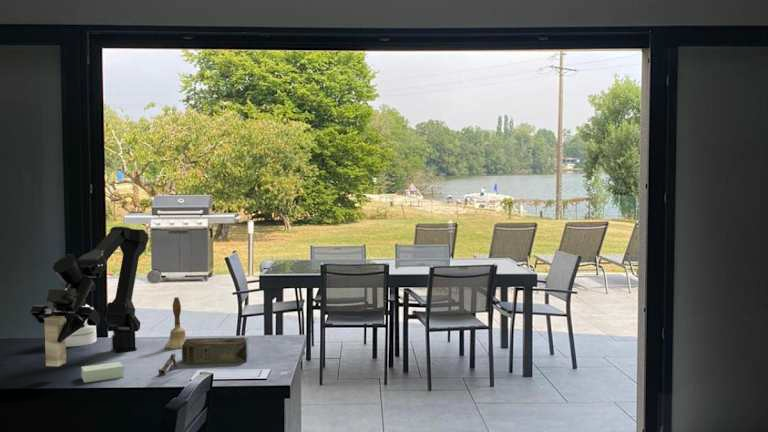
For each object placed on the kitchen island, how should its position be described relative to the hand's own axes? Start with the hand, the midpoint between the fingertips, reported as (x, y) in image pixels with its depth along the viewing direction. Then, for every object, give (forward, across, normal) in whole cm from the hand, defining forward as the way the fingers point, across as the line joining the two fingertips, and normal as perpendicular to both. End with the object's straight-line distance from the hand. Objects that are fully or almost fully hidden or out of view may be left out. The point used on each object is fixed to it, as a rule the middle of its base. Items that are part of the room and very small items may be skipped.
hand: (52, 341), depth 188 cm
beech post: (+4, 0, +6) cm, 7 cm away
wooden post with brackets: (-2, +26, +17) cm, 32 cm away
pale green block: (+4, +12, +11) cm, 17 cm away
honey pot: (-22, -22, +38) cm, 49 cm away
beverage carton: (-12, +35, +27) cm, 46 cm away
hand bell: (-22, +15, +38) cm, 46 cm away
